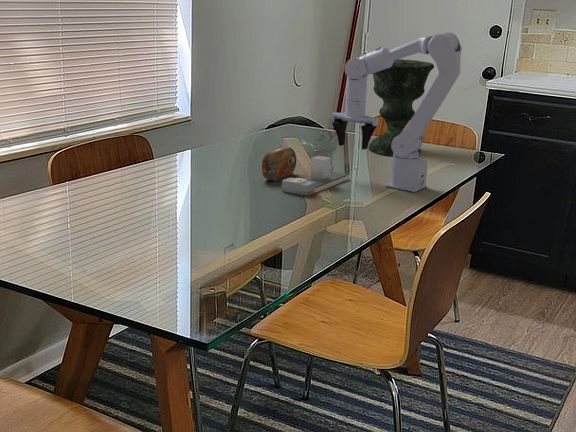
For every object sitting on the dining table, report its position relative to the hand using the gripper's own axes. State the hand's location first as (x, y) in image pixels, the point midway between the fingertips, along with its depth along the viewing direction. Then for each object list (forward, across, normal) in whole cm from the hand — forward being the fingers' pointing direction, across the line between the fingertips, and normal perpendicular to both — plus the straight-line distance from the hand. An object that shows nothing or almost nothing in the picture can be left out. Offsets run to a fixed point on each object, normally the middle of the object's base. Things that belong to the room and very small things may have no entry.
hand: (352, 147), depth 217 cm
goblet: (+10, -7, +43) cm, 45 cm away
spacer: (+8, -4, -11) cm, 14 cm away
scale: (+9, -4, -13) cm, 17 cm away
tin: (+10, -17, -13) cm, 23 cm away
